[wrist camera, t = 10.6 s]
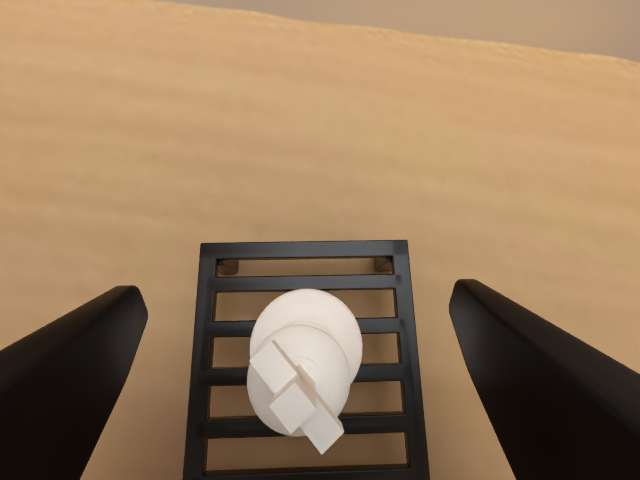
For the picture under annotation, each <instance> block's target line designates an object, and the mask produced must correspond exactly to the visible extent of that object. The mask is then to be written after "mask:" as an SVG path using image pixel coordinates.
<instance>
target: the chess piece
mask: <svg viewBox="0 0 640 480" xmlns="http://www.w3.org/2000/svg"><path fill="white" fill-rule="evenodd" d="M361 359H362V337H361V332H360V329H359V326H358V323H357V321H356V319H355V317H354V315H353V314H352V312H351V311H350V310H349V308H348V307H347V306H346V305H345V304H344V303H343V302H342V301H340V300H339V299H338V298H336V297H335V296H333V295H331V294H329V293H327V292H324V291H321V290H316V289H298V290H293V291H290V292H287V293H285V294H283V295H281V296H279V297H278V298H276V299H275V300H273V301H272V302H271V303H270V304H269V305H268V306H267V307H266V308H265V309H264V310H263V312H262V313H261V315H260V316H259V318H258V319H257V321H256V323H255V326H254V328H253V331H252V335H251V340H250V360H249V362H250V364H249V368H248V374H247V390H248V395H249V399H250V402H251V405H252V407H253V409H254V411H255V412H256V414H257V415H258V417H259V418H260V419H261V420H262V422H264V423H265V424H266V425H267V426H268V427H270V428H271V429H273V430H274V431H276V432H278V433H281V434H284V435H288V436H295V437H300V436H308V438H309V439H310V440H311V442H312V443H313V444H314V445H315V447H316V448H317V449H318V451H319V452H320V453H321V454H323V453H324V452H325V451H326V450H327V449H328V448H329V447H330V446H331V445H332V444H333V443H334V442H335V441H336V440H337V439H338V438H339V437H340V436H341V435H342V434H343V433H344V430H343V426H342V423H341V421H340V420H339V419H338V418H337V417H338V415H339V414H340V413H341V411H342V409H343V407H344V405H345V403H346V401H347V398H348V395H349V390H350V385H351V383H352V382H353V380H354V378H355V377H356V375H357V372H358V370H359V367H360V363H361Z"/></svg>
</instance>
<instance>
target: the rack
mask: <svg viewBox="0 0 640 480" xmlns="http://www.w3.org/2000/svg"><path fill="white" fill-rule="evenodd" d="M350 258H374V267H375V271H391V272H392V274H357V275H302V276H248V277H218V273H220V274H236V273H237V272H238V260H290V259H350ZM298 289H316V290H321V291H338V290H388V289H393V297H394V309H395V317H383V318H355V319H356V321H357V323H358V326H359V329H360V332H361V334H382V333H396V334H397V347H398V359H399V363H364V364H360V367H359V370H358V372H357V375H356V377H355V378H354V380H353V382H378V381H400V384H401V397H402V409H403V411H394V412H362V413H340V414H339V415H338V417H337V418H338V419H339V420H340V421H341V423H342V426H343V430H344V433H343V434H367V433H398V432H404V434H405V447H406V459H407V464H380V465H353V466H325V467H297V468H269V469H241V470H213V471H206V465H207V448H208V439H216V438H246V437H276V436H288V435H284V434H281V433H278V432H276V431H274V430H273V429H271V428H270V427H268V426H267V425H266V424H265V423H264V422H262V420H261V419H260V418H259V417H258V416H233V417H209V415H210V399H211V386H237V385H247V374H248V368H249V367H213V368H212V366H213V350H214V337H251V335H252V331H253V328H254V326H255V323H256V321H257V320H249V321H215V317H216V300H217V293H237V292H287V291H293V290H298ZM183 480H430V473H429V462H428V452H427V441H426V431H425V420H424V410H423V399H422V389H421V378H420V368H419V357H418V347H417V336H416V326H415V315H414V305H413V294H412V284H411V273H410V263H409V252H408V241H407V240H367V241H302V242H236V243H201V246H200V260H199V273H198V286H197V299H196V312H195V325H194V338H193V351H192V364H191V377H190V390H189V403H188V416H187V429H186V442H185V456H184V469H183Z"/></svg>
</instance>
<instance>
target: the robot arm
mask: <svg viewBox="0 0 640 480" xmlns="http://www.w3.org/2000/svg"><path fill="white" fill-rule="evenodd" d="M449 313H450V317H451V320H452V323H453V326H454V329H455V332H456V335H457V339H458V342H459V345H460V348H461V351H462V354H463V357H464V360H465V363H466V366H467V369H468V372H469V374H470V376H471V379H472V381H473V383H474V386H475V388H476V390H477V392H478V395H479V397H480V399H481V401H482V404H483V406H484V408H485V410H486V413H487V415H488V417H489V419H490V422H491V424H492V426H493V428H494V431H495V433H496V435H497V437H498V440H499V442H500V444H501V446H502V449H503V451H504V453H505V455H506V458H507V460H508V462H509V464H510V467H511V469H512V471H513V473H514V476H515V478H516V480H640V374H639V373H637V372H635V371H633V370H632V369H630V368H628V367H626V366H625V365H623V364H621V363H619V362H618V361H616V360H614V359H613V358H611V357H609V356H607V355H606V354H604V353H602V352H600V351H599V350H597V349H595V348H593V347H592V346H590V345H588V344H587V343H585V342H583V341H581V340H580V339H578V338H576V337H574V336H573V335H571V334H569V333H567V332H566V331H564V330H562V329H561V328H559V327H557V326H555V325H554V324H552V323H550V322H548V321H547V320H545V319H543V318H541V317H540V316H538V315H536V314H535V313H533V312H531V311H529V310H528V309H526V308H524V307H522V306H521V305H519V304H517V303H515V302H514V301H512V300H510V299H509V298H507V297H505V296H503V295H502V294H500V293H498V292H496V291H495V290H493V289H491V288H489V287H488V286H486V285H484V284H483V283H481V282H479V281H477V280H475V279H459V280H457V281H456V283H455V285H454V289H453V292H452V296H451V299H450V303H449ZM147 319H148V311H147V308H146V306H145V303H144V300H143V298H142V295H141V292H140V290H139V288H138V287H136V286H133V285H131V286H116V287H114V288H113V289H111V290H109V291H107V292H105V293H104V294H102V295H100V296H98V297H96V298H95V299H93V300H91V301H89V302H87V303H85V304H84V305H82V306H80V307H78V308H76V309H75V310H73V311H71V312H69V313H67V314H66V315H64V316H62V317H60V318H58V319H57V320H55V321H53V322H51V323H49V324H48V325H46V326H44V327H42V328H40V329H38V330H37V331H35V332H33V333H31V334H29V335H28V336H26V337H24V338H22V339H20V340H19V341H17V342H15V343H13V344H11V345H10V346H8V347H6V348H4V349H2V350H1V351H0V480H80V478H81V476H82V474H83V471H84V469H85V467H86V465H87V463H88V461H89V459H90V457H91V454H92V452H93V450H94V448H95V446H96V444H97V442H98V440H99V437H100V435H101V433H102V431H103V429H104V427H105V425H106V423H107V420H108V418H109V416H110V414H111V412H112V410H113V408H114V405H115V403H116V401H117V399H118V397H119V395H120V393H121V391H122V388H123V386H124V384H125V382H126V379H127V377H128V374H129V371H130V369H131V366H132V363H133V360H134V357H135V354H136V351H137V349H138V346H139V343H140V340H141V337H142V334H143V331H144V328H145V326H146V323H147Z"/></svg>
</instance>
